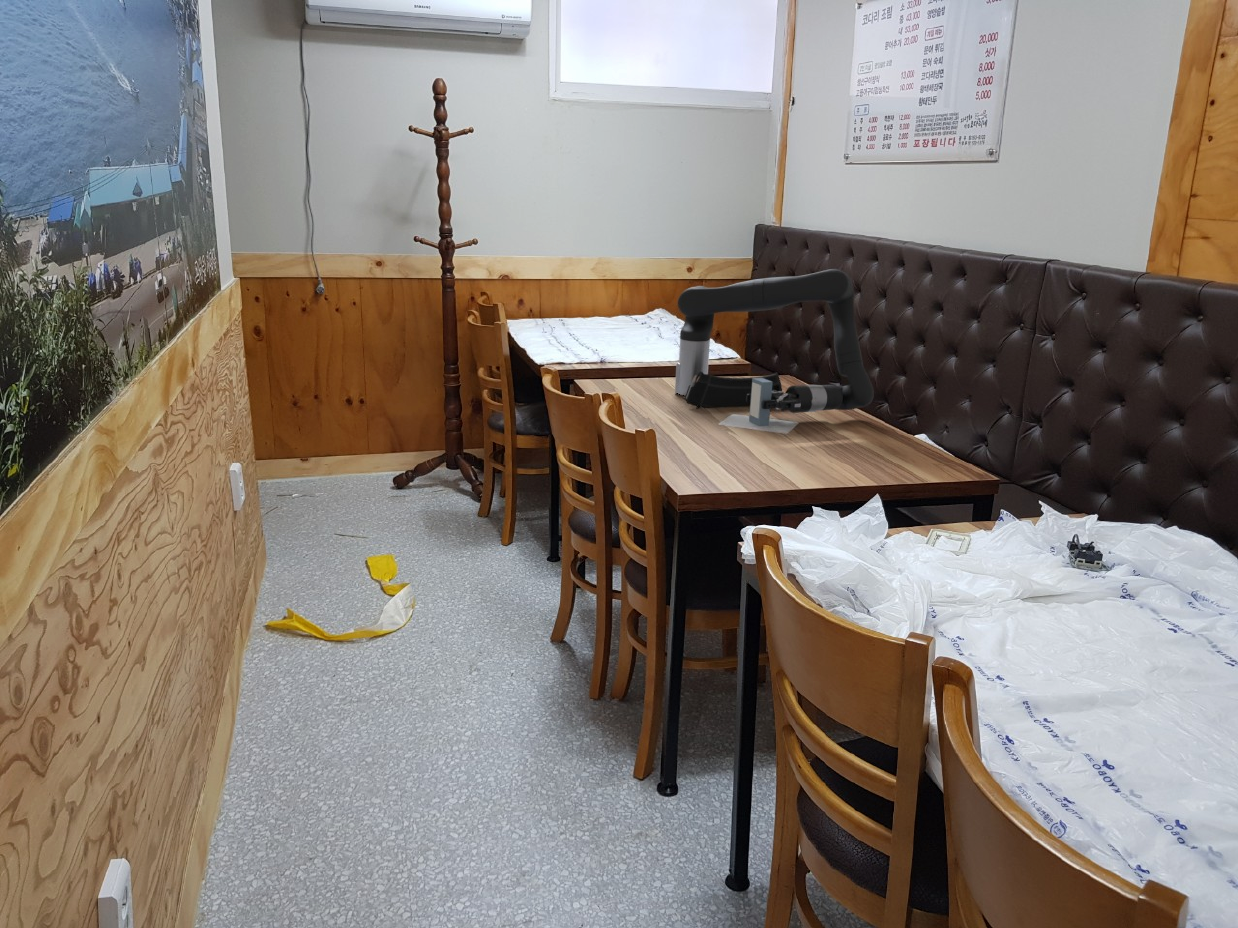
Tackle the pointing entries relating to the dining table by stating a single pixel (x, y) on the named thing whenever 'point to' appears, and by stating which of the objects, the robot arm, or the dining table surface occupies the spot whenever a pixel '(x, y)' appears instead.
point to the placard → (760, 401)
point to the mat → (743, 422)
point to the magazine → (723, 390)
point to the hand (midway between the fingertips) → (754, 401)
